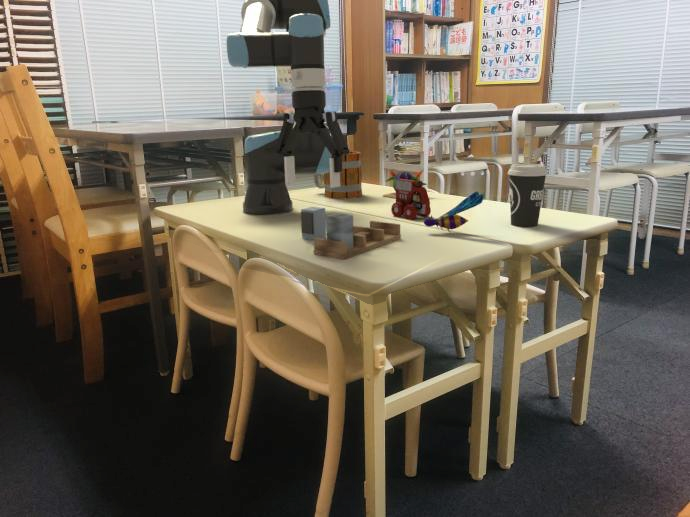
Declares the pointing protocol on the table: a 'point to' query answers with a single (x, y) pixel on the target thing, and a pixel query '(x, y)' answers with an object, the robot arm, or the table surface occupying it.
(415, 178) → the toy animal
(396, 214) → the toy fire truck
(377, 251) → the table surface
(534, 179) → the coffee cup
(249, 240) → the table surface
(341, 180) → the mug
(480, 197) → the toy
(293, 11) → the robot arm
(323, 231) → the blue gray block
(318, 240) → the wooden block holder
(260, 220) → the table surface
